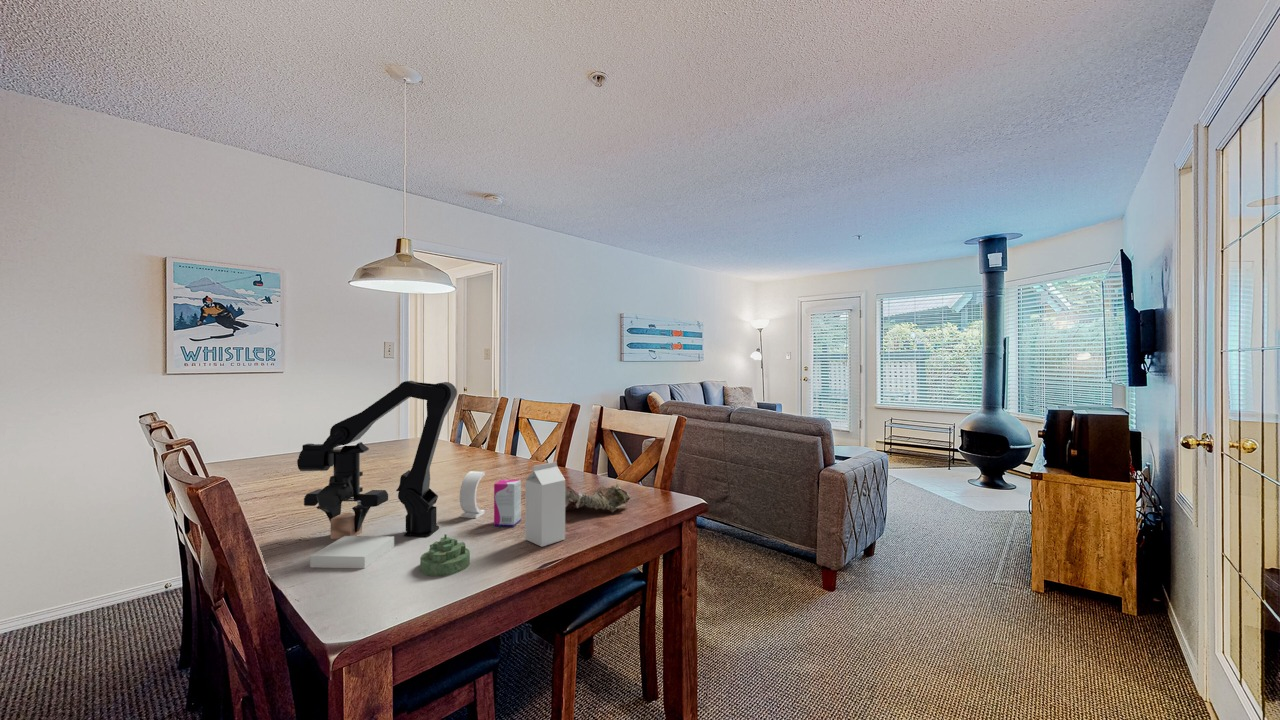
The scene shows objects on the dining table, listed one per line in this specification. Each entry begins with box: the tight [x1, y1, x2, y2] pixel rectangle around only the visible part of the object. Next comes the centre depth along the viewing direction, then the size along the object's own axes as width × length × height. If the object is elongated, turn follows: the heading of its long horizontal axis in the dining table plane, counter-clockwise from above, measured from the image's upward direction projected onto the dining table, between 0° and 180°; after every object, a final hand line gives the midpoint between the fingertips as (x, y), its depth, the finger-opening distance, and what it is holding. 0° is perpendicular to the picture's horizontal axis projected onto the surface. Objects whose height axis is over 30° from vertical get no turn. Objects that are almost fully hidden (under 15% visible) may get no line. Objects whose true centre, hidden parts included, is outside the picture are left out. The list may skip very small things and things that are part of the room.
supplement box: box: [493, 478, 522, 528], centre depth 136 cm, size 6×6×12 cm
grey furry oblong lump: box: [565, 482, 632, 513], centre depth 148 cm, size 25×16×8 cm, turn 120°
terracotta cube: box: [330, 512, 363, 540], centre depth 126 cm, size 5×5×5 cm
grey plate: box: [309, 535, 395, 569], centre depth 112 cm, size 12×12×2 cm
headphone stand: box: [459, 470, 486, 519], centre depth 142 cm, size 5×6×12 cm
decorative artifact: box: [419, 534, 471, 577], centre depth 108 cm, size 10×7×10 cm
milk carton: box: [524, 461, 566, 547], centre depth 123 cm, size 7×7×19 cm
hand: (346, 531), depth 126 cm, fingers closed on terracotta cube, 5 cm apart
